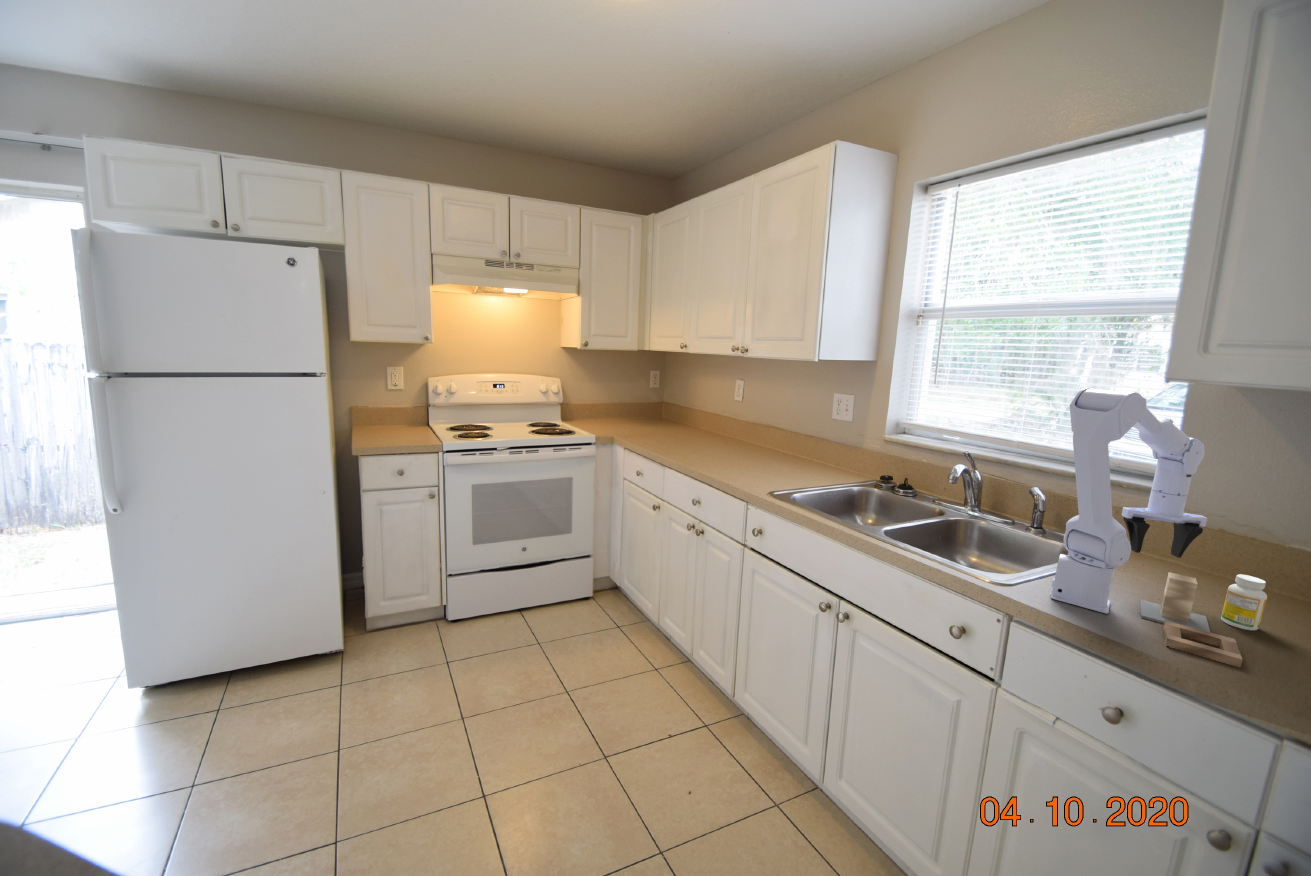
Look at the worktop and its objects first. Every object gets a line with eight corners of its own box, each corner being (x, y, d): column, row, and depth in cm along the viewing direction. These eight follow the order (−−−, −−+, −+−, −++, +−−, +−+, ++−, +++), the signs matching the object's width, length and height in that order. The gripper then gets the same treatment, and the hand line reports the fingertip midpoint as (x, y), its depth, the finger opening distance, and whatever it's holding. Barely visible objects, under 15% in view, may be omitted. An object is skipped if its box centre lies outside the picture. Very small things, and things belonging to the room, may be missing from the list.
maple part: (1160, 615, 113) (1169, 577, 111) (1160, 609, 116) (1168, 571, 114) (1188, 623, 110) (1197, 584, 109) (1186, 616, 113) (1195, 578, 112)
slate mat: (1140, 617, 112) (1141, 615, 112) (1140, 601, 120) (1140, 599, 120) (1210, 636, 106) (1211, 633, 106) (1205, 618, 114) (1205, 616, 114)
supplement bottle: (1241, 631, 109) (1254, 583, 108) (1212, 617, 115) (1223, 572, 113) (1266, 631, 110) (1279, 584, 108) (1236, 617, 115) (1247, 572, 114)
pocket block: (1165, 645, 101) (1167, 638, 101) (1163, 627, 109) (1164, 620, 108) (1240, 667, 96) (1242, 659, 95) (1232, 646, 103) (1234, 638, 102)
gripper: (1141, 492, 118) (1128, 555, 120) (1223, 501, 115) (1208, 565, 117) (1121, 484, 124) (1109, 544, 127) (1198, 492, 122) (1184, 553, 124)
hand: (1155, 553), depth 122 cm, fingers open, 7 cm apart
